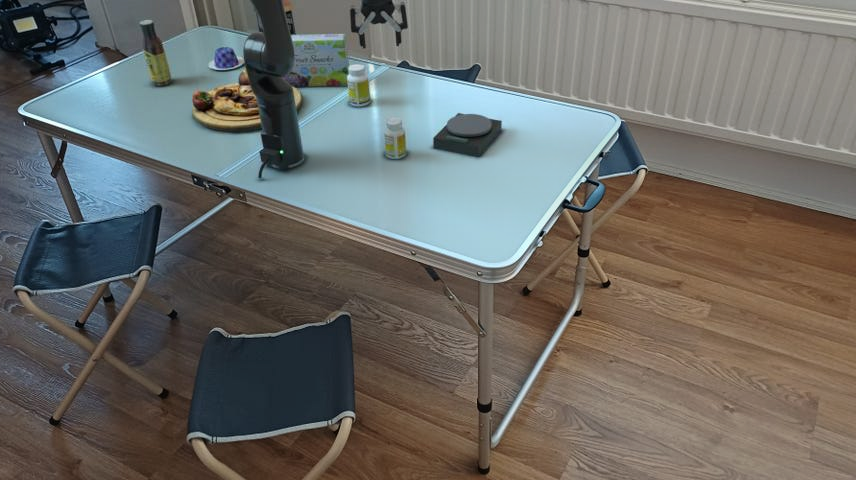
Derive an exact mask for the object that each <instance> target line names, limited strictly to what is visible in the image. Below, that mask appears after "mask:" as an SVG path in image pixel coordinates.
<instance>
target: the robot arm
mask: <svg viewBox="0 0 856 480" xmlns="http://www.w3.org/2000/svg"><path fill="white" fill-rule="evenodd" d="M249 2H250V4H251V5H252V8H253V9H254V8H255V10H256V12H257V14H258V16H259V18H260V21H261V24H262V28H263V32H264V33H262V32H259V31H254V32H252V33H251V34H249V35H248V36H247V38H246V39H245V41H244V44H243V50H242V54H243V59H244V63H243V64H244V67H245V70H246V71H247V75H248V79H249V83H250V87H251V90H252V92H253V93H254V95H255V96H256V100H257V105H258V110H259V115H260V121H261V126H262V128H261V130H262V131H261V132H260V139H261V143H262V149H260V150H259V152H258V153H259V157H260V158H259V159H260V162H261V163H262V164H261V165H260V167H259V170H258V175H257V178H258V179H262V175H263V171H264V168H265V166H266V167H268V168H271V169H276V170H280V171H284V172H285V171H287V170H290V169H293V168H296V167H298V166H300V165H302V164H303V163H304V162H305V154H304V149H303V148H304V147H303V142H302V138H301V130H300V124H299V119H298V118H299V117H298V111H297V110H296V104H295V98H294V91H293V88H292V86H291V85H290V84H289V83H288V82H287V81H285V80H284V79H283V78H282V77H285V76H287V75H288V74H289V73H290V72H291V71H292V69H293V66H294V60H295V53H294V46H293V41H292V37H291V33H290V29H289V25H288V21H287V17H286V13H285V8H284V3H283V0H249ZM395 10H396V11H397V13H398V14H400V16H401V21H402V22H400V23H399V22H398V21H397V19H396V18H395V17H394V16H393V14H394V12H395ZM256 12H255V13H256ZM359 13H361V15H363V17H364V18H363V19H362V21H361V23H360V25H359V26H358V25H357V21H356V19H357V18H356V17H358V16H359V15H360V14H359ZM349 17H350V19H349V20H350V32H351V33H353V34H354V33H356V34H357V35H358V37H359V38H358V39H359V46H360V47H362V49H367V46H366V34H365V31H366V30H367V29H368V27H369V26H370V25H371V24H372V25H378V24H381V25H383V24H384V25H385V24H386V23H388V24H389V25H390V26H391V27H392V28H393V29H394V32H395V33H394V34H395V46H396V47H400V44H402V42H403V41H402V31H403V30H407V29H408V28H409V25H408V18H407V10H406V3H405V2H404V1H401V2H400V3H396V4H395V3H394V2H393V0H361V6H355V5H350V6H349Z"/></svg>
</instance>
